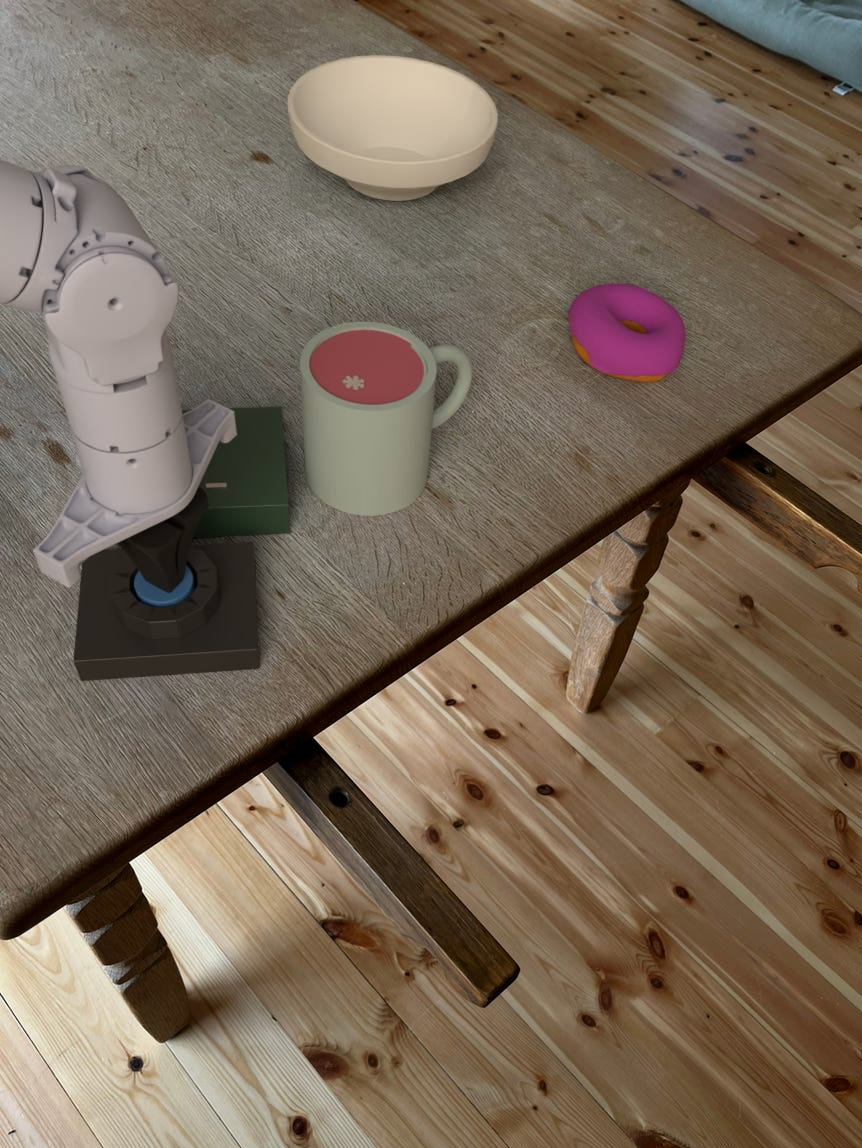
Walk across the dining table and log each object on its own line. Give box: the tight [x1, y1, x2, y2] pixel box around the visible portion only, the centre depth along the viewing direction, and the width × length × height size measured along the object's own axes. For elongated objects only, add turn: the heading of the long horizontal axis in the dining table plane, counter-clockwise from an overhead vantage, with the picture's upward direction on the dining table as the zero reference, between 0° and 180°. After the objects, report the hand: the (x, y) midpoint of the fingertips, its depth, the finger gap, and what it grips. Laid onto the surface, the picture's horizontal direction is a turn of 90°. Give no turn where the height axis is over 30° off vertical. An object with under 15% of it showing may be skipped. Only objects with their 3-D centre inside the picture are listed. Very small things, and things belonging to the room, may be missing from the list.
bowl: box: [286, 54, 499, 202], centre depth 100 cm, size 20×20×7 cm
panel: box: [182, 406, 291, 539], centre depth 74 cm, size 12×12×3 cm
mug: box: [299, 321, 473, 517], centre depth 75 cm, size 14×9×10 cm
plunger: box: [134, 566, 195, 607], centre depth 66 cm, size 4×4×2 cm
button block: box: [73, 541, 260, 682], centre depth 67 cm, size 11×9×4 cm
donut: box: [567, 282, 687, 383], centre depth 88 cm, size 10×10×5 cm
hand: (164, 580), depth 65 cm, fingers closed, pressing on plunger
